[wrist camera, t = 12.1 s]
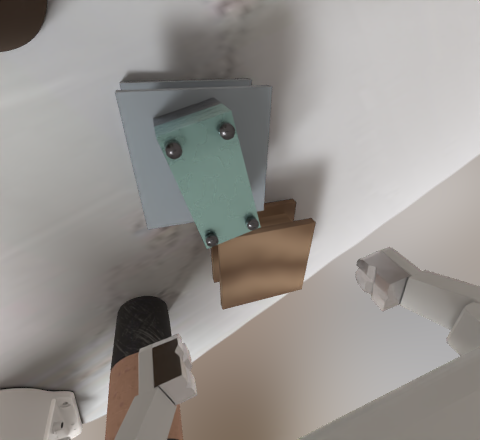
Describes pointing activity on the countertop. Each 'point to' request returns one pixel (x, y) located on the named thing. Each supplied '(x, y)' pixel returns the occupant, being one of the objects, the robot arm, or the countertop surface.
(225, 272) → the stand
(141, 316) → the travel mug
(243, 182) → the block
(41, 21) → the olive oil
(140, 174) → the stand
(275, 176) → the countertop surface
